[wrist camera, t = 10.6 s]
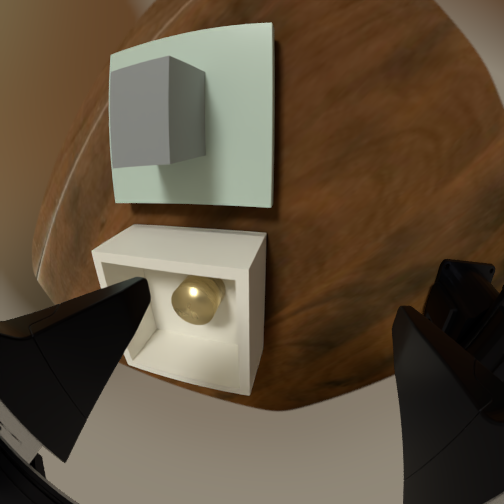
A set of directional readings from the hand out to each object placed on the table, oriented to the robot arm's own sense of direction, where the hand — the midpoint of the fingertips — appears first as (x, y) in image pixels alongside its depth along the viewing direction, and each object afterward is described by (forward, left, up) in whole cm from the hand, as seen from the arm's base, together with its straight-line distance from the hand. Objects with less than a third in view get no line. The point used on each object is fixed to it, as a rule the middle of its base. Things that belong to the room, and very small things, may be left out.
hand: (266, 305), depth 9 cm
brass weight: (+7, +7, -11) cm, 15 cm away
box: (+8, +8, -12) cm, 16 cm away
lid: (+8, -7, -11) cm, 15 cm away
